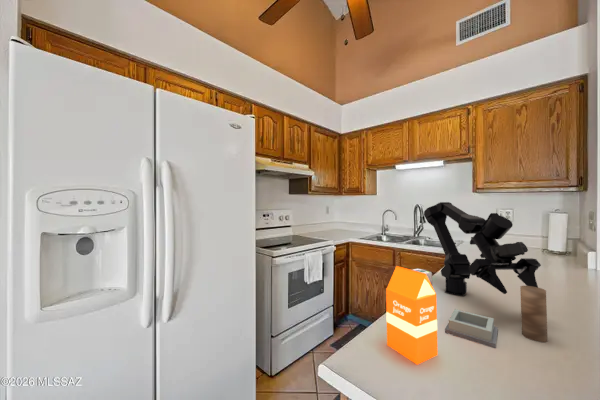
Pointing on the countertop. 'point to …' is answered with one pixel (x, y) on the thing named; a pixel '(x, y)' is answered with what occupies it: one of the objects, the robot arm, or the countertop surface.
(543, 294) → the walnut plug
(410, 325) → the orange juice
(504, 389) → the countertop surface
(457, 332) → the dock
